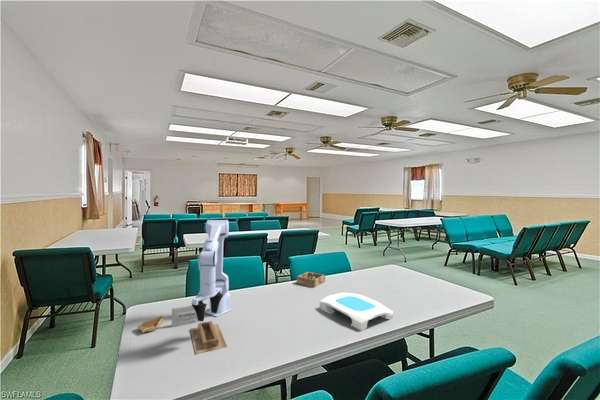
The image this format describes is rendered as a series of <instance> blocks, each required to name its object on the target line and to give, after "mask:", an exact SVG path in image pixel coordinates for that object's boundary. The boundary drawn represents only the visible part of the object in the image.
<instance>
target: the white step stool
mask: <svg viewBox="0 0 600 400" xmlns="http://www.w3.org/2000/svg"><path fill="white" fill-rule="evenodd" d="M319 309H320V310H321V311H323V312H324V311H325V312H324V313H326V312H327V314H329V315H333V314H332V313H334V312H336V311H335V310H337V311H338V312H340V313H342V314H343V315H345V316H347V317H349V318H350V319H351V324H350V326H351V327H352V326H353V328H354V327H355V328H354V329H356V328H357V329H356V330H358V329H359V330H358V331H361V330H362V331H364V330H363V329H365V328H367V329H368V323H369V321H370V320H373V319H376V318H377V317H379V316H380V317H379V318H381V317H382V318H381V319H384V318H385V319H384V320H386V319H390V320H392V318H393V319H394V311H393V310H391V309H390V308H388V307H386V305H383V303H381V302H379V301H377V300H374V299H372V298H370V297H367V296H365V295H363V294H357V293H354V292H353V293H351V292H339V293H335V294H330V295H327V296H325V297H324V298H322V299H320V300H319ZM334 314H335V313H334ZM365 330H366V329H365Z"/></svg>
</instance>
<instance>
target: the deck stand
mask: <svg viewBox="0 0 600 400" xmlns="http://www.w3.org/2000/svg"><path fill="white" fill-rule="evenodd" d="M312 272H313V271H312ZM312 272H310V271H306V272H304V273H302V274H299V275H297V276H296V284H297V285H300V286H306V287H310V288H316V287H318V286H320V285H321V284H324V283H326V275H325V274H322V273H321V274H320V273H316V272H313V273H312ZM311 274H313V275H311ZM309 277H310V278H309ZM312 277H315V278H316V279H315V278H313V279H312Z"/></svg>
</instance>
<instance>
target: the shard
mask: <svg viewBox="0 0 600 400" xmlns="http://www.w3.org/2000/svg"><path fill="white" fill-rule="evenodd" d="M163 317H164V315H161V316H159V317H157V318H156V317H155V318H152V319H150V320H148V321H144V322H142V323H139V324H137V326H136V328H137V330H139V331H141V332H142V333H143V334H145V333H146V332H153V331H155V330H156V329H157V328H158V326H160V324H161V322H162V320H163Z"/></svg>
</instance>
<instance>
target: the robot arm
mask: <svg viewBox="0 0 600 400" xmlns="http://www.w3.org/2000/svg"><path fill="white" fill-rule="evenodd" d="M229 223H230V222H229V220H228V219H220V220H219V219H207V221H206V222H205V232H206V234H207V235H208V238H207V239H205V240H204V244H203V247H202V251H201V252H199V254H198V257H197V262H198V270H199V292H198V294H197V295H196V296H195V297H193V298H192V299H191V305H192V306H193V308H194V309H195V312H196V314H197V318H198V321H200V322H204V320H205V314H208V315H210V316H213V317H215V318H217V317H220V316H222V315H224V314H226V313H228V312H231V311H232V310H233V309H232V308H231V305H232V304H231V300H232V299H231V293H230V292H229V288H230V287H229V284H230V283H229V282H230V281H229V276H228V275H227V274H226V273H224V272H223V267H224V241H225V238H228V237H229V233H230V232H229V231H230V230H229V229H230V225H229ZM207 299H209V310H207V311H206V308H207V305H208V304H207V303H204V301H206V300H207Z"/></svg>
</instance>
